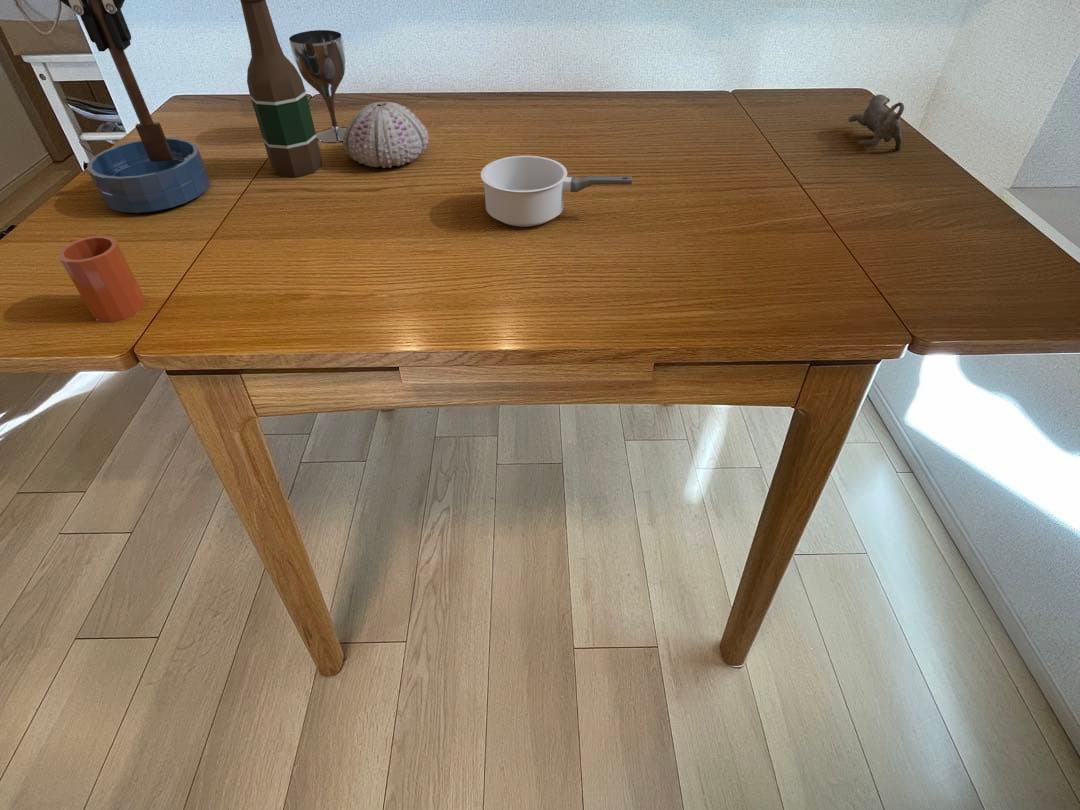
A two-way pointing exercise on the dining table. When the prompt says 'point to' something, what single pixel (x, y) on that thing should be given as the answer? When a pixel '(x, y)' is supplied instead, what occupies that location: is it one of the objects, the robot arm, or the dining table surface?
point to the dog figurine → (881, 121)
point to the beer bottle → (279, 98)
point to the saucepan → (532, 189)
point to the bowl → (148, 177)
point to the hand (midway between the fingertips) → (114, 46)
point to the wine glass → (322, 70)
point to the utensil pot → (103, 278)
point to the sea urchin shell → (385, 135)
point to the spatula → (134, 94)
